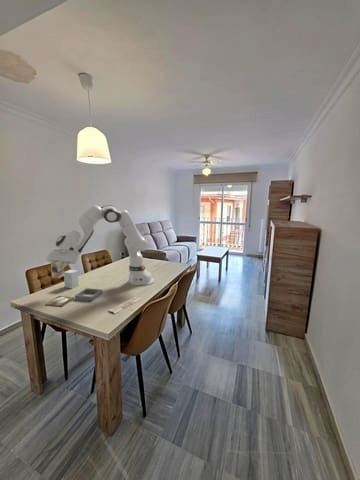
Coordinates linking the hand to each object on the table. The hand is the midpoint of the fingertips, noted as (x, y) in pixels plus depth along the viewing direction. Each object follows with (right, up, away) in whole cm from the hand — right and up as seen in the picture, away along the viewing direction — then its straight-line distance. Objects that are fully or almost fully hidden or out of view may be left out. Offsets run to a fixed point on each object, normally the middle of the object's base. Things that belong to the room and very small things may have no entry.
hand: (57, 268), depth 131 cm
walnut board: (0, -23, +5) cm, 24 cm away
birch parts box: (0, -6, +2) cm, 6 cm away
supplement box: (-7, -19, +30) cm, 36 cm away
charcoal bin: (+15, -22, +13) cm, 30 cm away
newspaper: (+45, -26, +2) cm, 52 cm away
